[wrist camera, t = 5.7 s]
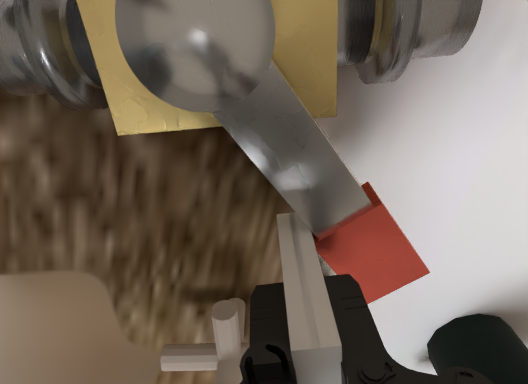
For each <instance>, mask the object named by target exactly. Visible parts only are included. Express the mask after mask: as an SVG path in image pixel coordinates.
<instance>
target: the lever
mask: <svg viewBox="0 0 528 384" xmlns="http://www.w3.org/2000/svg"><path fill="white" fill-rule="evenodd" d="M115 26H116V33H117V37H118V41H119V45H120V47H121V50H122V53H123V55H124V57H125V59H126V61H127V63H128V65H129V67H130V69H131V70H132V72H133V73H134V75H135V76H136V77H137V78H138V80H139V81H140V82H141V83H142V84H143V85H144V86H145V87H146V88H147V89H148V90H149V91H150V92H151V93H152V94H154V95H155V96H156V97H158V98H159V99H161V100H163V101H164V102H166V103H168V104H170V105H172V106H174V107H177V108H180V109H183V110H188V111H193V112H211V113H212V114H213V115H214V116H215V118H216V119H217V120H218V121H219V122H220V124H221V125H222V126H223V127H224V128H225V129H226V131H227V132H228V133H229V134H230V135H231V137H232V138H233V139H234V140H235V141H236V142H237V144H238V145H239V146H240V147H241V148H242V150H243V151H244V152H245V153H246V154H247V155H248V157H249V158H250V159H251V160H252V161H253V163H254V164H255V165H256V166H257V167H258V168H259V170H260V171H261V172H262V173H263V174H264V176H265V177H266V178H267V179H268V180H269V182H270V183H271V184H272V185H273V186H274V187H275V189H276V190H277V191H278V192H279V193H280V195H281V196H282V197H283V198H284V199H285V200H286V202H287V203H288V204H289V205H290V206H291V208H292V209H293V210H294V211H295V212H296V213H297V215H298V216H299V217H300V218H301V219H302V221H303V222H304V223H305V224H306V225H307V226H308V228H309V229H310V230H311V232H312V236H313V240H314V244H315V247H316V251H317V252H318V253H319V254H320V256H321V257H322V258H323V259H324V260H325V261H326V263H327V264H328V265H329V266H330V267H331V268H332V269H333V271H334V272H335V273H336V274H337V275H342V274H350V275H351V276H352V277H353V278H354V279H355V280H356V281H357V282H358V283H359V285H360V287H361V290H362V293H363V295H364V298H365V300H366V303H367V304H369V303H371V302H373V301H375V300H377V299H379V298H381V297H383V296H385V295H387V294H389V293H391V292H393V291H395V290H397V289H399V288H401V287H403V286H405V285H407V284H409V283H411V282H413V281H415V280H417V279H419V278H421V277H423V276H424V275H426V274H428V273H430V272H429V270H428V269H427V267H426V266H425V264H424V263H423V261H422V260H421V258H420V257H419V255H418V254H417V252H416V251H415V249H414V248H413V246H412V245H411V243H410V242H409V240H408V239H407V237H406V236H405V234H404V233H403V232H402V230H401V229H400V227H399V226H398V224H397V223H396V221H395V220H394V219H393V217H392V216H391V214H390V213H389V211H388V210H387V208H386V207H385V205H384V204H383V203H382V201H381V200H380V198H379V197H378V195H377V194H376V192H375V191H374V190H373V188H372V187H371V185H370V184H369V182H366V183H365V184H363V185H360V183H359V182H358V180H357V179H356V177H355V176H354V175H353V173H352V172H351V170H350V169H349V168H348V166H347V165H346V163H345V162H344V160H343V159H342V158H341V156H340V155H339V153H338V152H337V151H336V149H335V148H334V146H333V145H332V143H331V142H330V141H329V139H328V138H327V136H326V135H325V134H324V132H323V131H322V129H321V128H320V126H319V125H318V124H317V122H316V121H315V119H314V118H313V117H312V115H311V114H310V112H309V111H308V109H307V108H306V107H305V105H304V104H303V102H302V101H301V100H300V98H299V97H298V95H297V94H296V92H295V91H294V90H293V88H292V87H291V85H290V84H289V82H288V81H287V80H286V78H285V77H284V75H283V74H282V73H281V71H280V70H279V68H278V67H277V65H276V64H275V63H274V61H273V60H272V55H273V50H274V44H275V18H274V12H273V7H272V4H271V0H116V2H115Z"/></svg>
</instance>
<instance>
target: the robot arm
mask: <svg viewBox="0 0 528 384" xmlns="http://www.w3.org/2000/svg"><path fill="white" fill-rule="evenodd" d="M277 225H278V234H279V244H280V253H281V262H282V272H283V281H284V282H282V283H274V284H266V285H257V286H256V288H255V290H254V291H253V293H252V295H251V301H250V311H251V312H250V347H249V348H248V349H247V350H246V351H245V353H244V354H243V356H242V358H241V362H240V365H239V367H240V371H241V374H242V378H243V380H242V381H241V383H240V384H494V383H493V382H491V381H490V380H489V379H488V378H487V377H485V376H484V375H483V374H481V373H479V372H477V371H475V370H473V369H471V368H466V367H461V366H455V367H449V368H447V369H445V370H444V371H443V372H441V373H440V376H437V375H432V374H427V373H422V372H417V371H414V370H410V369H408V368H406V367H404V366H402V365H400V364H399V363H397V362H396V361H395V360H393V359H392V358H391V356H390V355H389V354H388V353H387V351H386V349H385V347H384V345H383V343H382V340H381V338H380V335H379V333H378V330H377V328H376V325H375V323H374V320H373V318H372V315H371V313H370V310H369V308H368V305H367V303H366V300H365V298H364V295H363V293H362V290H361V287H360V285H359V283H358V282H357V281H356V280H355V279H354V278H353V277H352V276H351V275H350V274H342V275H334V276H325V277H323V274H322V270H321V266H320V262H319V259H318V255H317V251H316V247H315V244H314V240H313V236H312V232H311V230H310V229H309V228H308V226H307V225H306V224H305V223H304V222H303V221H302V219H301V218H300V217H299V216H298V215H297V213H296V212H292V213H284V214H277Z"/></svg>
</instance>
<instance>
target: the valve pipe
mask: <svg viewBox="0 0 528 384" xmlns="http://www.w3.org/2000/svg"><path fill="white" fill-rule="evenodd" d="M482 1H483V0H271V4H272V7H273V12H274V18H275V44H274V50H273V55H272V60H273V61H274V63H275V64H276V65H277V67H278V68H279V70H280V71H281V73H282V74H283V75H284V77H285V78H286V80H287V81H288V82H289V84H290V85H291V87H292V88H293V90H294V91H295V92H296V94H297V95H298V97H299V98H300V100H301V101H302V102H303V104H304V105H305V107H306V108H307V109H308V111H309V112H310V114H311V115H312V117H313V118H320V117H331V116H336V108H337V66H343V65H354V64H355V66H356V69H357V73H358V75H359V77H360V79H361V81H362V82H363V83H365V84H372V83H383V82H393V81H395V80H397V79H398V78H399V77H400V76H401V74H402V73H403V72H404V70H405V68H406V66H407V64H408V62H409V60H410V59H416V58H427V57H437V56H448V55H453V54H455V53H457V52H458V51H459V50H460V49H461V48H463V46H464V45H465V44H466V43H467V41H468V39H469V38H470V36H471V34H472V32H473V30H474V28H475V26H476V23H477V20H478V17H479V14H480V10H481V6H482ZM115 2H116V0H0V87H1V88H2V89H4V90H6V91H7V92H9V93H11V94H14V95H18V96H30V95H41V94H51V95H52V96H53V97H54V98H55V99H56V100H57V101H59V102H60V103H61V104H63V105H64V106H66V107H68V108H70V109H73V110H77V111H82V110H93V109H104V108H108V107H109V108H110V111H111V114H112V118H113V121H114V124H115V127H116V131H117V134H118V136H119V135H130V134H141V133H152V132H164V131H175V130H186V129H197V128H208V127H220V126H222V125H221V124H220V122H219V121H218V120H217V119H216V118H215V116H214V115H213V114H212V113H211V112H193V111H188V110H183V109H180V108H177V107H174V106H172V105H170V104H168V103H166V102H164V101H163V100H161V99H159V98H158V97H156V96H155V95H154V94H152V93H151V92H150V91H149V90H148V89H147V88H146V87H145V86H144V85H143V84H142V83H141V82H140V81H139V80H138V78H137V77H136V76H135V75H134V73H133V72H132V70H131V69H130V67H129V65H128V63H127V61H126V59H125V57H124V55H123V53H122V50H121V47H120V45H119V41H118V37H117V33H116V26H115Z"/></svg>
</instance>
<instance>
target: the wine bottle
mask: <svg viewBox="0 0 528 384" xmlns="http://www.w3.org/2000/svg"><path fill="white" fill-rule="evenodd" d="M427 347H428V355H429V359H430V361H431V363H432V365H433V367H434V369H435V371H436V373H437V375H438V376H440V373H441V372H443V371H444V370H445V369H447V368H449V367H455V366H461V367H466V368H471V369H473V370H475V371H477V372H479V373H481V374H483V375H484V376H485V377H487V378H488V379H489V380H490V381H491V382H493V383H494V384H528V349H527V347H526V346H525V345H524V344H523V342H522V341H521V340H520V339H519V337H518V336H517V335H516V334H515V332H514V331H513V330H512V329H511V327H510V326H508V325H507V324H506V323H505V322H504V321H503V320H502V319H501V318H500V317H496V316H490V315H483V314H475V315H470V316H466V317H461V318H456V319H454V320H452V321H451V322H449V323H447V324H446V325H444V326H442V327H441V328H439V329H437V330H436V332H435V333H434V335H433V336H432V338H431V339H430V341H429V342H428V344H427Z"/></svg>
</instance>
